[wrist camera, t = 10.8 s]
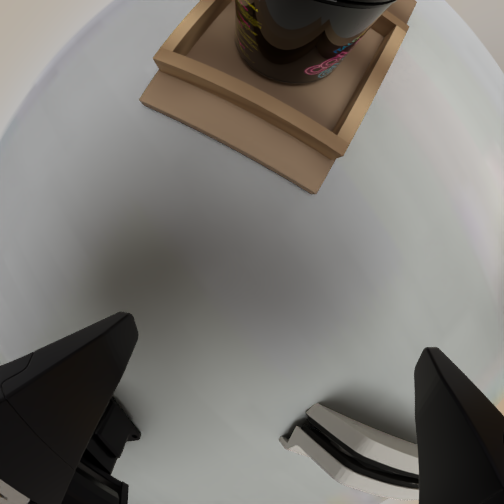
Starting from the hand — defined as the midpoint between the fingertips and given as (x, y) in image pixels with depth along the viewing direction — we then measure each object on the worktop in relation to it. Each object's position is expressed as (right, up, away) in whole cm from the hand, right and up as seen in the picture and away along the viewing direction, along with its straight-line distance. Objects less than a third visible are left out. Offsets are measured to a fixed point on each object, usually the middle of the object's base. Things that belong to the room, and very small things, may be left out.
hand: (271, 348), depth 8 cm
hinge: (+10, -15, +14) cm, 23 cm away
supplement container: (+2, +16, +7) cm, 17 cm away
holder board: (+3, +18, +7) cm, 19 cm away
